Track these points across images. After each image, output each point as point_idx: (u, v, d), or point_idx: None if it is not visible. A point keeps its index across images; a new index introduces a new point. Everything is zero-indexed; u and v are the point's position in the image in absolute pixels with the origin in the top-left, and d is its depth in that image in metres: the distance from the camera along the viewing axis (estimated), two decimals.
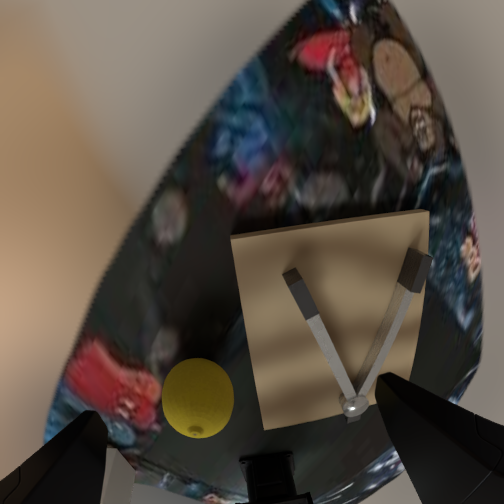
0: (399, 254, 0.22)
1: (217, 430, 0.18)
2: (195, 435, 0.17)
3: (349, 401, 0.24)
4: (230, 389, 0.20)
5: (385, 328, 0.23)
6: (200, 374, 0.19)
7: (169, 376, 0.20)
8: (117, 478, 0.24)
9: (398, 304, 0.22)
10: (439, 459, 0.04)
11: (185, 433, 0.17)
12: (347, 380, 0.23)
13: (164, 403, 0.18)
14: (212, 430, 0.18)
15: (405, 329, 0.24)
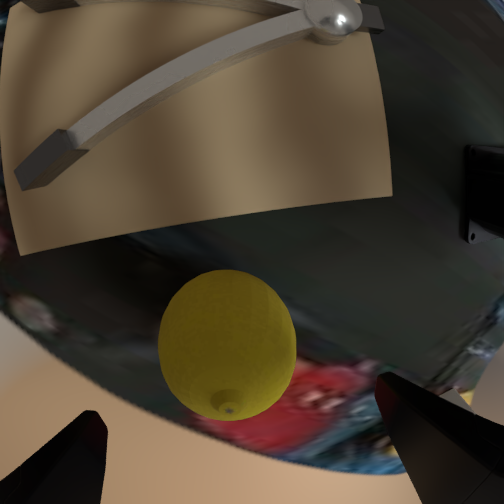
0: (44, 21, 0.09)
1: (249, 355, 0.09)
2: (231, 410, 0.08)
3: (313, 22, 0.09)
4: (196, 287, 0.11)
5: None
6: None
7: None
8: None
9: None
10: (439, 459, 0.04)
11: (247, 413, 0.09)
12: (245, 31, 0.09)
13: None
14: (237, 370, 0.08)
15: None
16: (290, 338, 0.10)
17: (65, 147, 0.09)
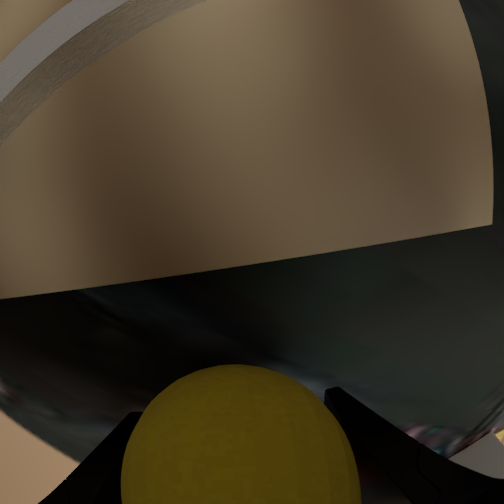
0: None
1: None
2: None
3: None
4: (178, 435, 0.04)
5: None
6: None
7: None
8: None
9: None
10: (376, 487, 0.04)
11: None
12: None
13: None
14: None
15: None
16: None
17: None
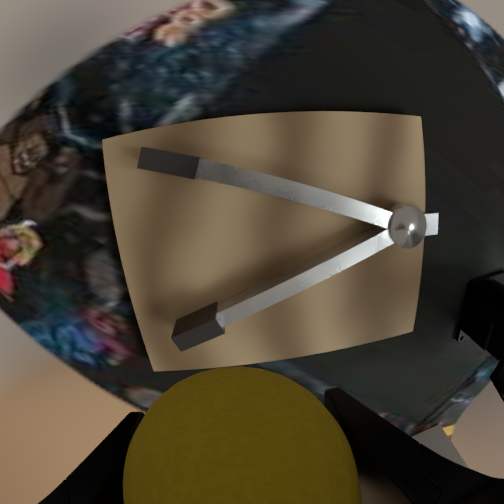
0: (158, 181, 0.16)
1: None
2: None
3: (393, 239, 0.16)
4: (180, 437, 0.04)
5: None
6: None
7: None
8: None
9: (225, 183, 0.15)
10: (376, 487, 0.04)
11: None
12: (350, 252, 0.16)
13: None
14: None
15: (289, 141, 0.16)
16: None
17: (223, 331, 0.16)
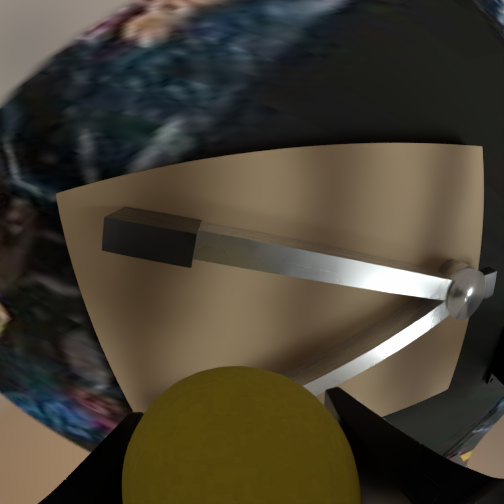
0: None
1: None
2: None
3: (449, 311, 0.12)
4: (179, 437, 0.04)
5: None
6: None
7: None
8: None
9: None
10: (376, 487, 0.04)
11: None
12: (400, 335, 0.12)
13: None
14: None
15: (327, 190, 0.11)
16: None
17: None
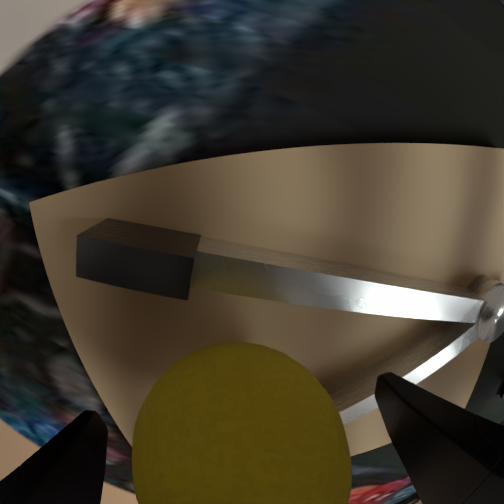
0: None
1: None
2: None
3: (478, 333, 0.10)
4: (187, 396, 0.05)
5: None
6: None
7: None
8: None
9: None
10: (439, 459, 0.04)
11: None
12: (427, 363, 0.10)
13: None
14: None
15: (354, 198, 0.09)
16: (348, 470, 0.05)
17: None
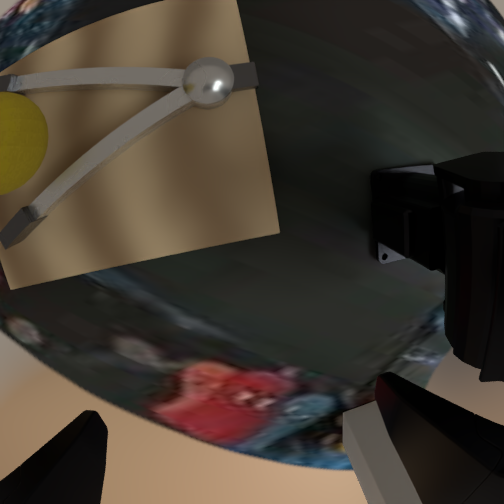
0: None
1: None
2: None
3: (189, 96, 0.13)
4: None
5: (66, 87, 0.13)
6: None
7: None
8: (373, 434, 0.21)
9: (32, 89, 0.12)
10: (439, 459, 0.04)
11: None
12: (135, 118, 0.13)
13: None
14: None
15: (90, 44, 0.13)
16: (7, 109, 0.08)
17: (28, 221, 0.13)
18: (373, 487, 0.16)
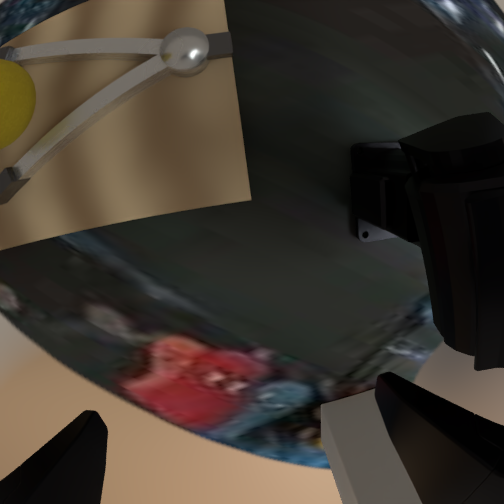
0: None
1: None
2: None
3: (166, 63, 0.13)
4: None
5: (56, 58, 0.12)
6: None
7: None
8: (351, 429, 0.20)
9: (26, 60, 0.11)
10: (439, 459, 0.04)
11: None
12: (114, 84, 0.13)
13: None
14: None
15: (82, 20, 0.12)
16: None
17: (10, 180, 0.13)
18: (347, 486, 0.16)
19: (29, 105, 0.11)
